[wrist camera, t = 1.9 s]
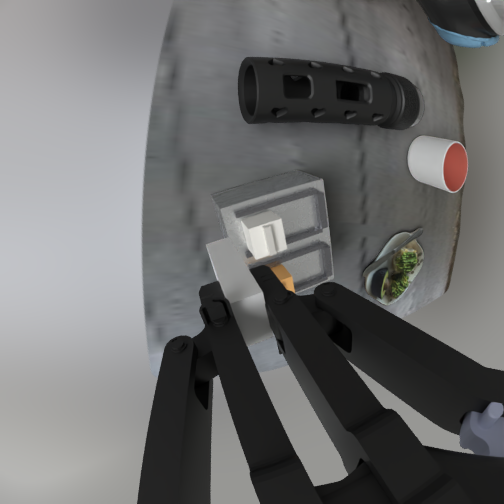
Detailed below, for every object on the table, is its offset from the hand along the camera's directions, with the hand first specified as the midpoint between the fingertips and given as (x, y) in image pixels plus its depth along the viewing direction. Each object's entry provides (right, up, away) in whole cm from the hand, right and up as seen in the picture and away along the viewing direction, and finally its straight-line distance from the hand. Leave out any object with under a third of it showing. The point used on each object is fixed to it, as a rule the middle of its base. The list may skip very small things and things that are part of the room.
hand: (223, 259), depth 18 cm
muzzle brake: (+13, +25, +21) cm, 35 cm away
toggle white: (+3, +3, +18) cm, 18 cm away
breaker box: (+4, +4, +27) cm, 28 cm away
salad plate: (+33, -3, +41) cm, 53 cm away
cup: (+37, +20, +31) cm, 52 cm away
